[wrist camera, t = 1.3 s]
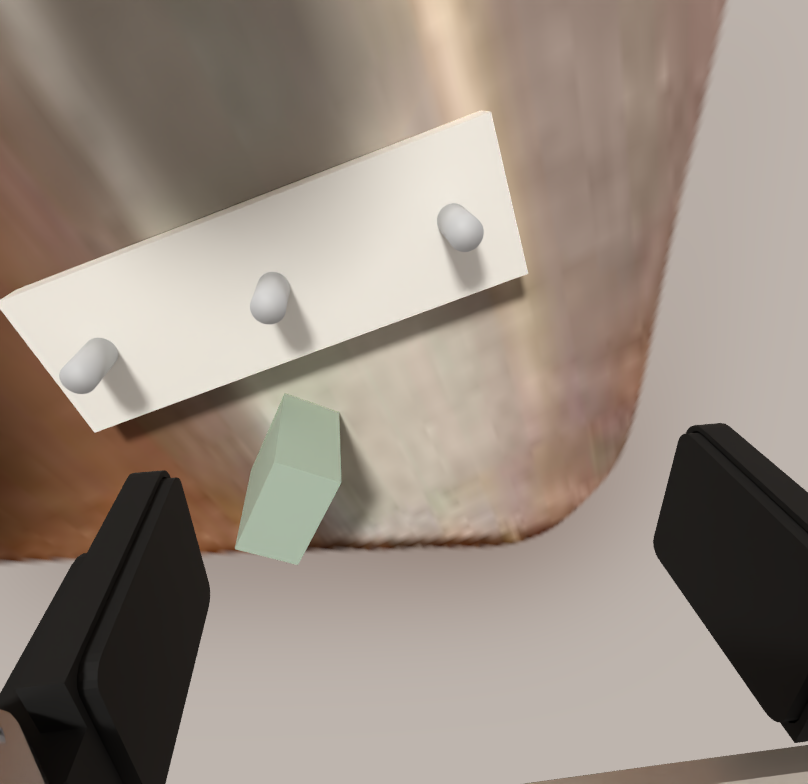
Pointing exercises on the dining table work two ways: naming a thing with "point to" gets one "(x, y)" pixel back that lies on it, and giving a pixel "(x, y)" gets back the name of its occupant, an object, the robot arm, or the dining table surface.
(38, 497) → the dining table surface
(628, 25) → the dining table surface
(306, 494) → the tall sage green block
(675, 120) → the dining table surface
